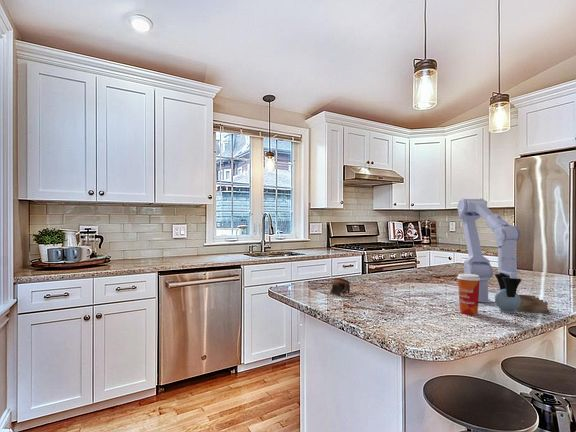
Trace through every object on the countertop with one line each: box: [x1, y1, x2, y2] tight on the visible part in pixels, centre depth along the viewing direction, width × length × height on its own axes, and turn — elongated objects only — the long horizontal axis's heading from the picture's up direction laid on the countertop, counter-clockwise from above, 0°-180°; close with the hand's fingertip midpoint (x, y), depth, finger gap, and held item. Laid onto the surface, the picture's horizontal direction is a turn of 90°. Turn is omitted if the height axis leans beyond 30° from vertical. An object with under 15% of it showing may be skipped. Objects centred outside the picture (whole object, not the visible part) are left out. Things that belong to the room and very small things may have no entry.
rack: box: [516, 294, 550, 314], centre depth 128 cm, size 10×12×4 cm
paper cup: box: [456, 273, 481, 316], centre depth 122 cm, size 8×8×14 cm
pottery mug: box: [329, 277, 351, 296], centre depth 154 cm, size 12×10×8 cm
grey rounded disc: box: [494, 289, 521, 314], centre depth 123 cm, size 8×2×8 cm, turn 72°
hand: (507, 294), depth 123 cm, fingers open, 7 cm apart
